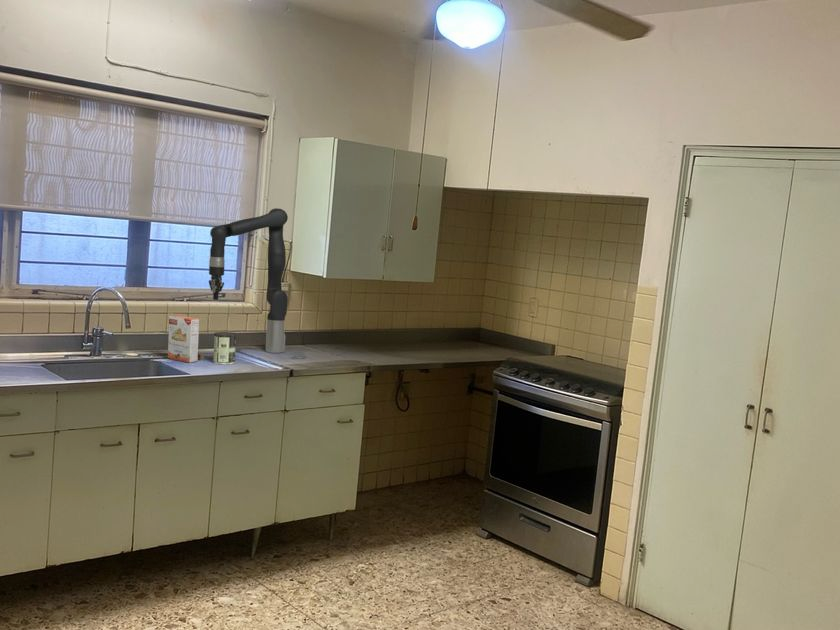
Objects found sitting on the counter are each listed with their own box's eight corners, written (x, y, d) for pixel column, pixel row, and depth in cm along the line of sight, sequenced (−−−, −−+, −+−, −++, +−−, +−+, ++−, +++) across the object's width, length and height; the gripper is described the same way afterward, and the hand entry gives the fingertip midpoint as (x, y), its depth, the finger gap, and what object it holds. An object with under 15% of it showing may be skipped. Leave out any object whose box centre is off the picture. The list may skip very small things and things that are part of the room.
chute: (220, 354, 398) (220, 350, 398) (230, 358, 391) (230, 353, 391) (190, 356, 388) (191, 351, 387) (200, 360, 380) (200, 355, 380)
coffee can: (230, 360, 386) (231, 331, 385) (238, 364, 378) (239, 334, 376) (209, 360, 380) (211, 331, 379) (217, 364, 372) (218, 335, 370)
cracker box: (166, 359, 377) (168, 315, 375) (176, 357, 382) (177, 314, 380) (188, 363, 371) (190, 319, 368) (198, 361, 376) (199, 318, 374)
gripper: (229, 267, 399) (228, 301, 401) (217, 264, 409) (216, 298, 411) (216, 266, 394) (214, 301, 396) (204, 264, 404) (202, 298, 406)
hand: (215, 299), depth 403 cm, fingers closed
